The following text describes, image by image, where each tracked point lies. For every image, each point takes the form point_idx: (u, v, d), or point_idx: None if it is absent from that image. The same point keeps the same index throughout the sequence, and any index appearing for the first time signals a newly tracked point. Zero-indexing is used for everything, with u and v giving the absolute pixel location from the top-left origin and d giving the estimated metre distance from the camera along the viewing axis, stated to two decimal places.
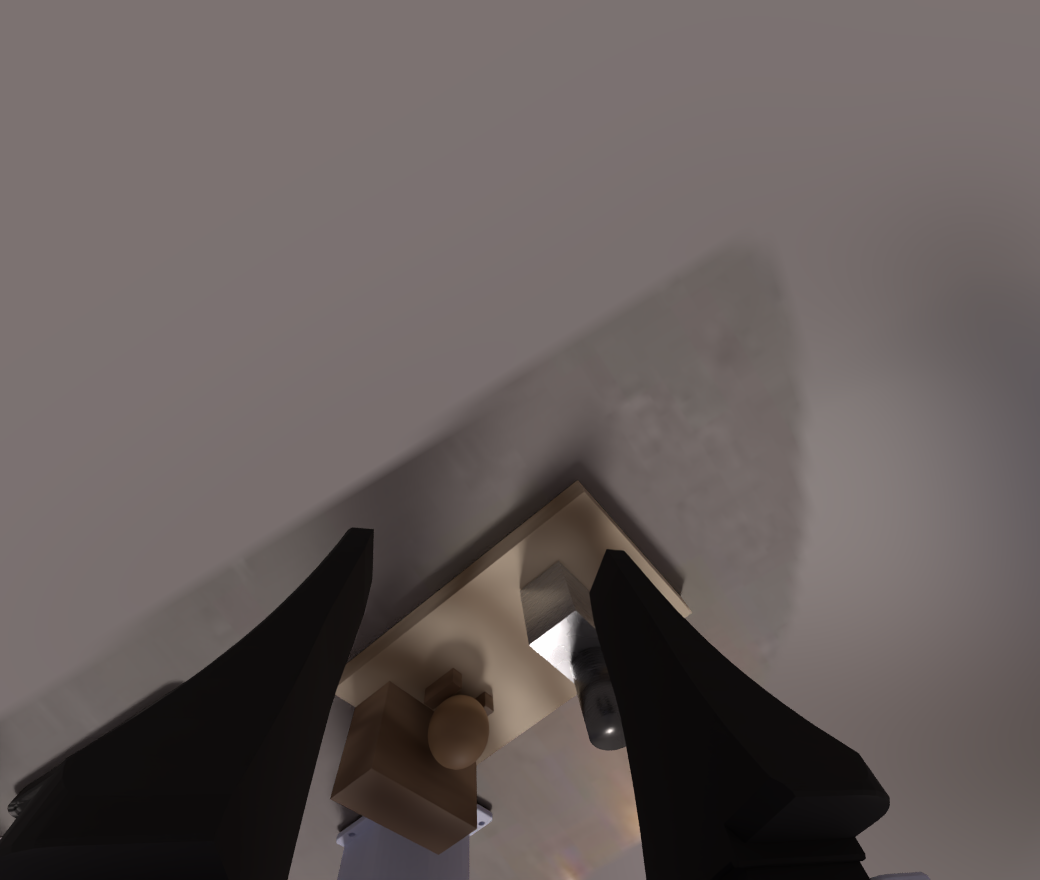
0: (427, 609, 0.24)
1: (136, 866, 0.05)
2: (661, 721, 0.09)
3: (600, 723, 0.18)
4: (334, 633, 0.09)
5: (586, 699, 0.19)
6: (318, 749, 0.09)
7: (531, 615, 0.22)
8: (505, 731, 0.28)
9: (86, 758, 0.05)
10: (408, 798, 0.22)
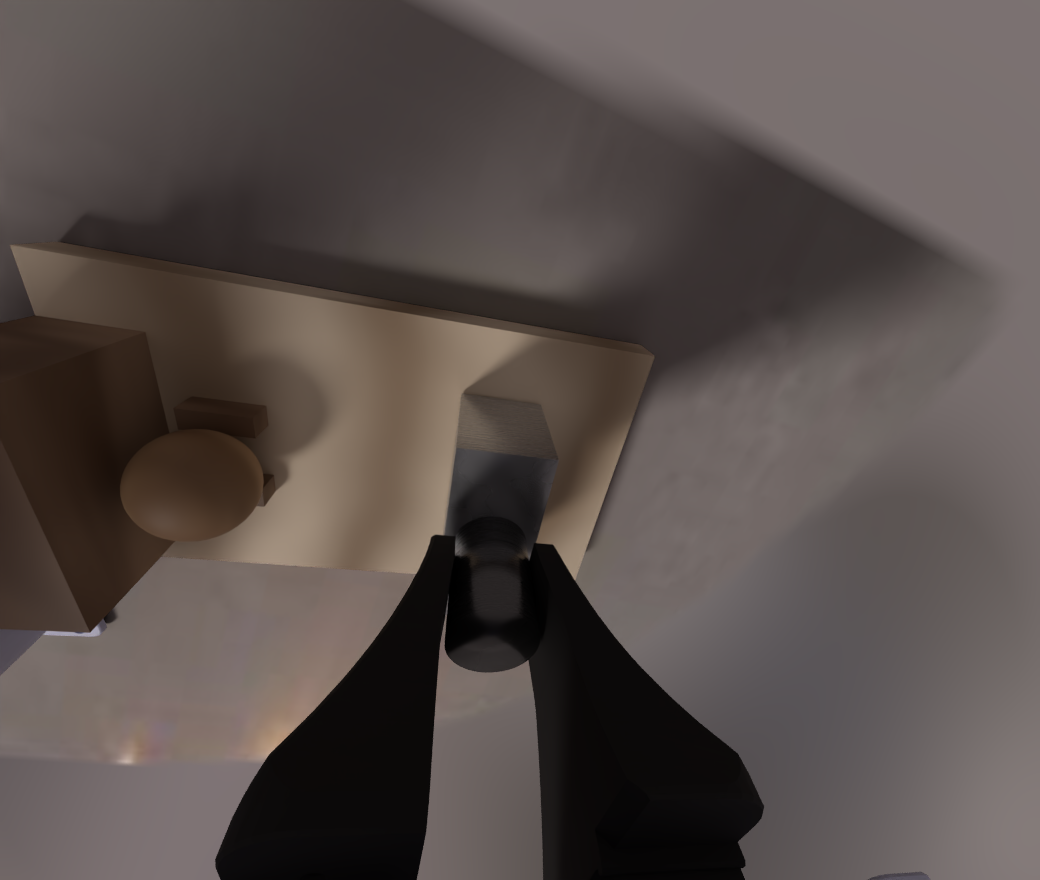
0: (317, 294, 0.13)
1: (349, 856, 0.05)
2: (561, 720, 0.09)
3: (492, 618, 0.10)
4: None
5: (484, 575, 0.11)
6: None
7: (473, 423, 0.13)
8: (244, 545, 0.18)
9: (287, 758, 0.05)
10: (6, 503, 0.10)
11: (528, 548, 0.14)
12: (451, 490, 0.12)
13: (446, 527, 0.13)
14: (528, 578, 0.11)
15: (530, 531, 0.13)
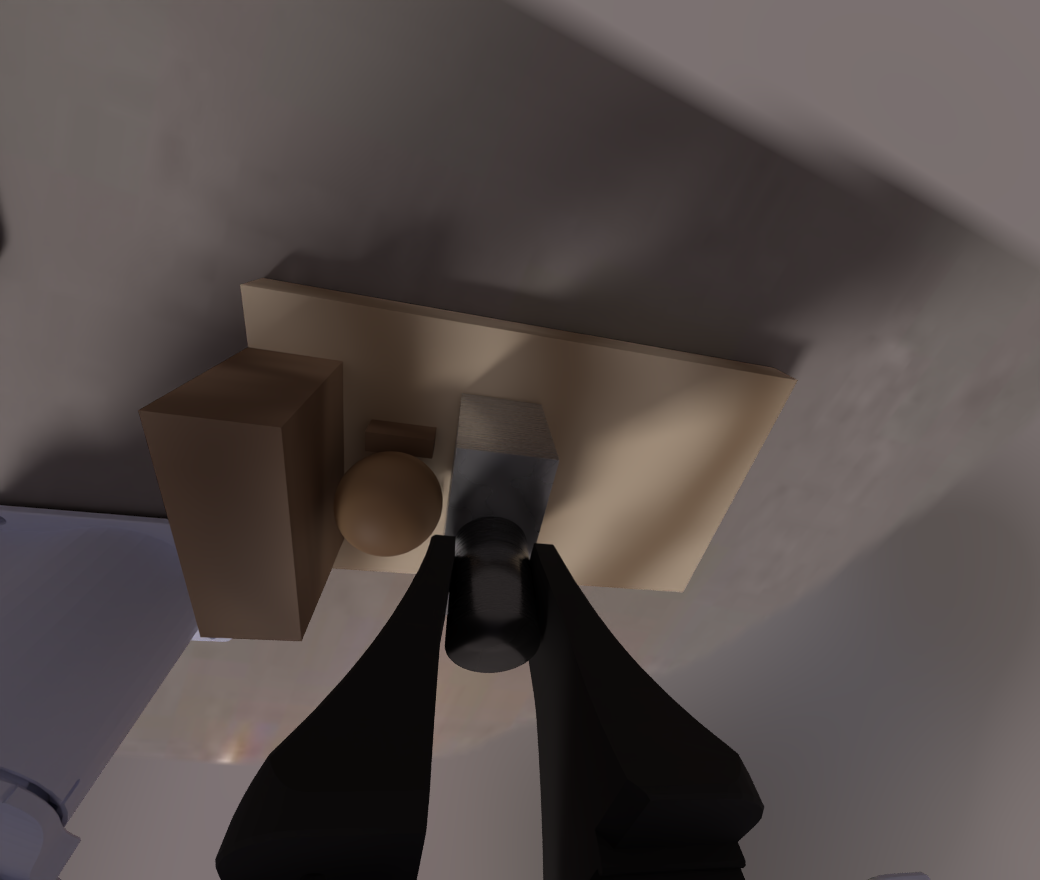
0: (498, 325, 0.14)
1: (349, 856, 0.05)
2: (561, 720, 0.09)
3: (492, 619, 0.10)
4: None
5: (484, 575, 0.11)
6: None
7: (474, 423, 0.13)
8: None
9: (287, 758, 0.05)
10: (270, 525, 0.11)
11: (528, 548, 0.13)
12: (451, 490, 0.12)
13: (446, 527, 0.13)
14: (528, 578, 0.11)
15: (530, 531, 0.13)
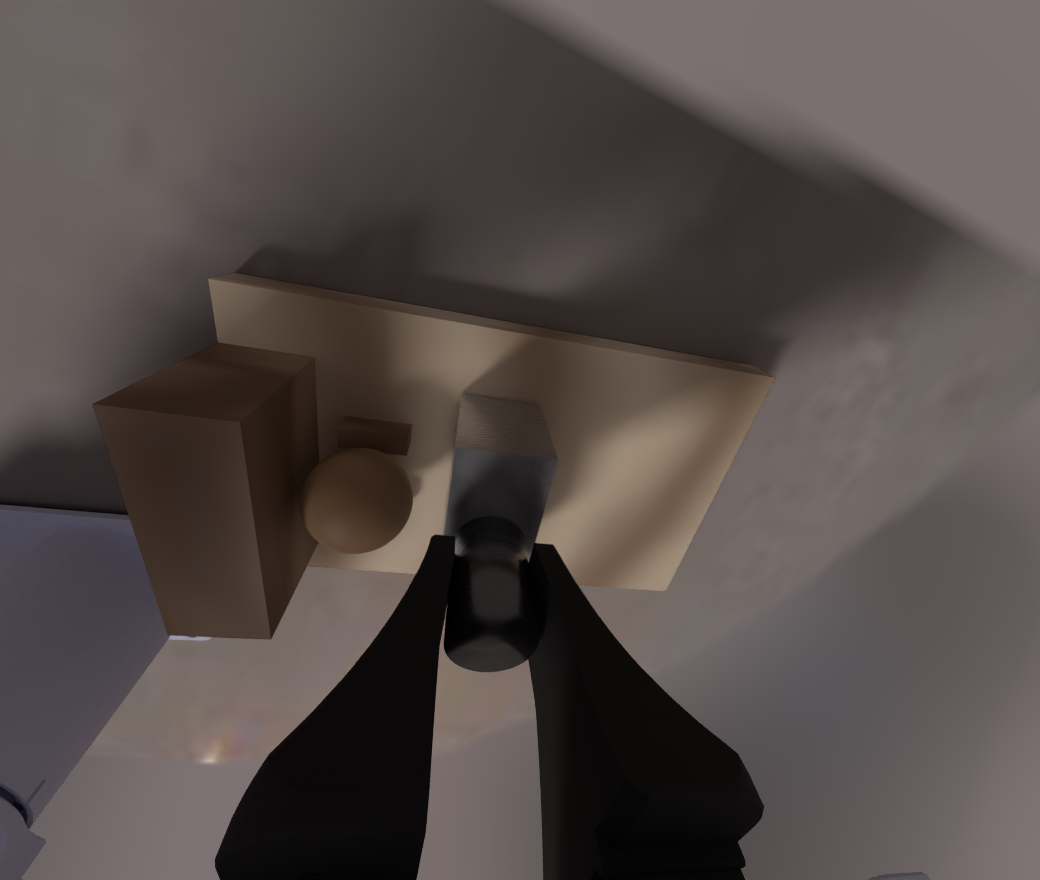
0: (472, 321, 0.14)
1: (348, 856, 0.05)
2: (561, 720, 0.09)
3: (491, 618, 0.10)
4: None
5: (483, 575, 0.11)
6: None
7: (473, 423, 0.13)
8: (367, 554, 0.18)
9: (286, 758, 0.05)
10: (233, 521, 0.11)
11: (527, 548, 0.14)
12: (450, 490, 0.12)
13: (445, 527, 0.13)
14: (527, 578, 0.11)
15: (529, 531, 0.13)
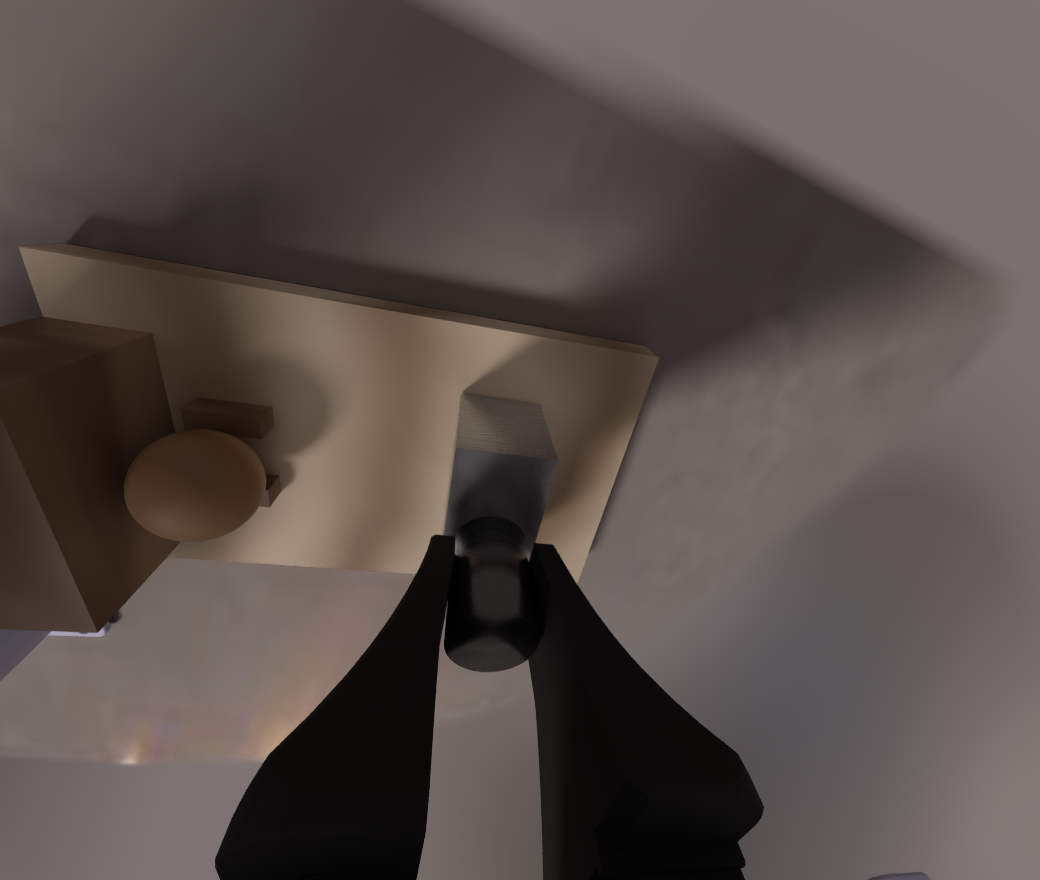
0: (324, 295, 0.13)
1: (348, 856, 0.05)
2: (561, 720, 0.09)
3: (491, 618, 0.10)
4: None
5: (483, 574, 0.11)
6: None
7: (473, 423, 0.13)
8: (249, 545, 0.18)
9: (286, 758, 0.05)
10: (17, 504, 0.10)
11: (527, 548, 0.14)
12: (450, 490, 0.12)
13: (445, 527, 0.13)
14: (527, 578, 0.11)
15: (529, 531, 0.13)
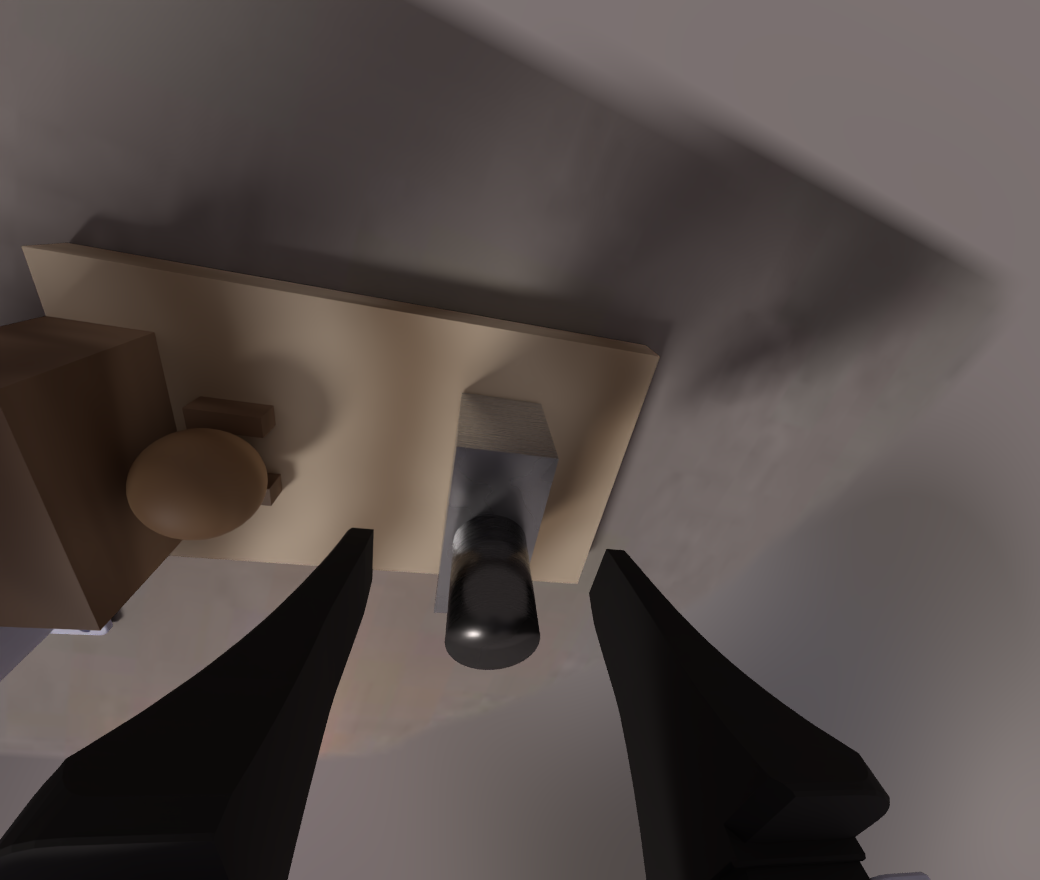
0: (325, 295, 0.14)
1: (136, 866, 0.05)
2: (661, 721, 0.09)
3: (492, 616, 0.10)
4: (334, 633, 0.09)
5: (484, 573, 0.11)
6: (318, 749, 0.09)
7: (474, 422, 0.13)
8: (250, 544, 0.18)
9: (86, 759, 0.05)
10: (20, 502, 0.10)
11: (528, 547, 0.14)
12: (451, 489, 0.12)
13: (446, 525, 0.13)
14: (528, 576, 0.11)
15: (530, 530, 0.13)
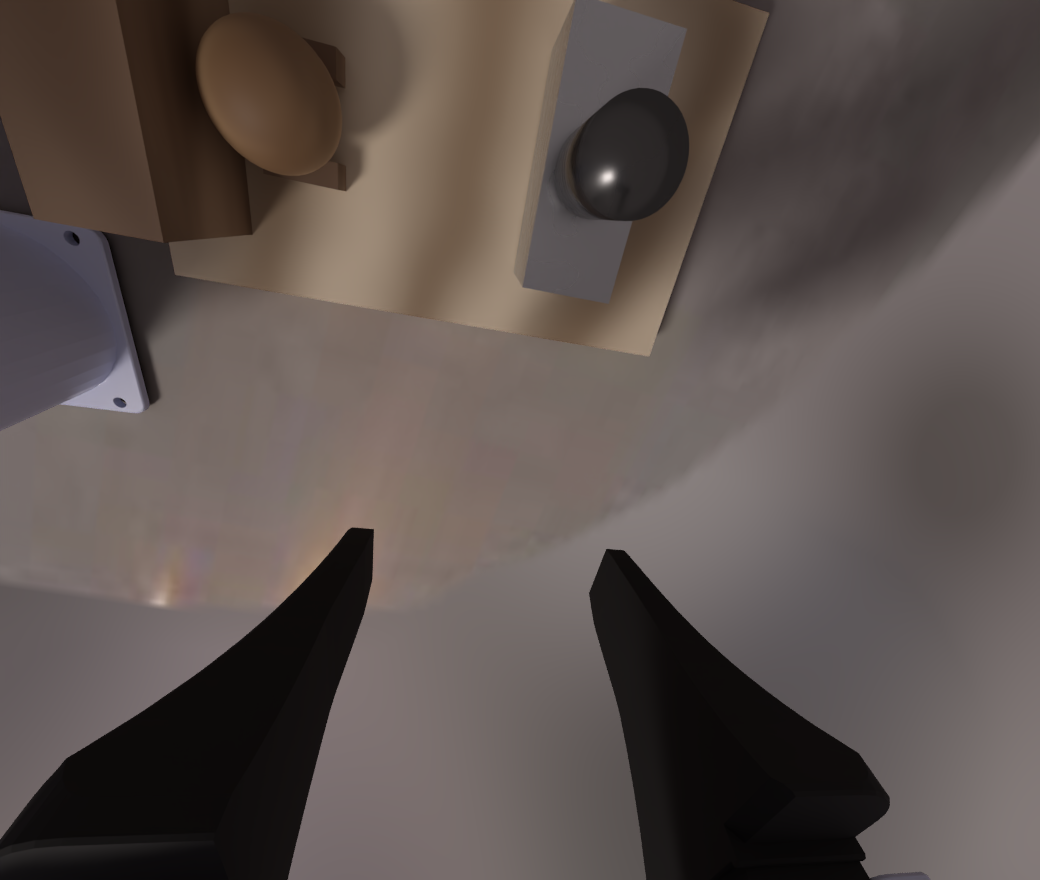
0: None
1: (136, 866, 0.05)
2: (661, 721, 0.09)
3: (642, 103, 0.08)
4: (334, 633, 0.09)
5: None
6: (318, 749, 0.09)
7: None
8: (306, 271, 0.16)
9: (86, 759, 0.05)
10: None
11: None
12: (563, 70, 0.11)
13: (551, 136, 0.11)
14: None
15: None
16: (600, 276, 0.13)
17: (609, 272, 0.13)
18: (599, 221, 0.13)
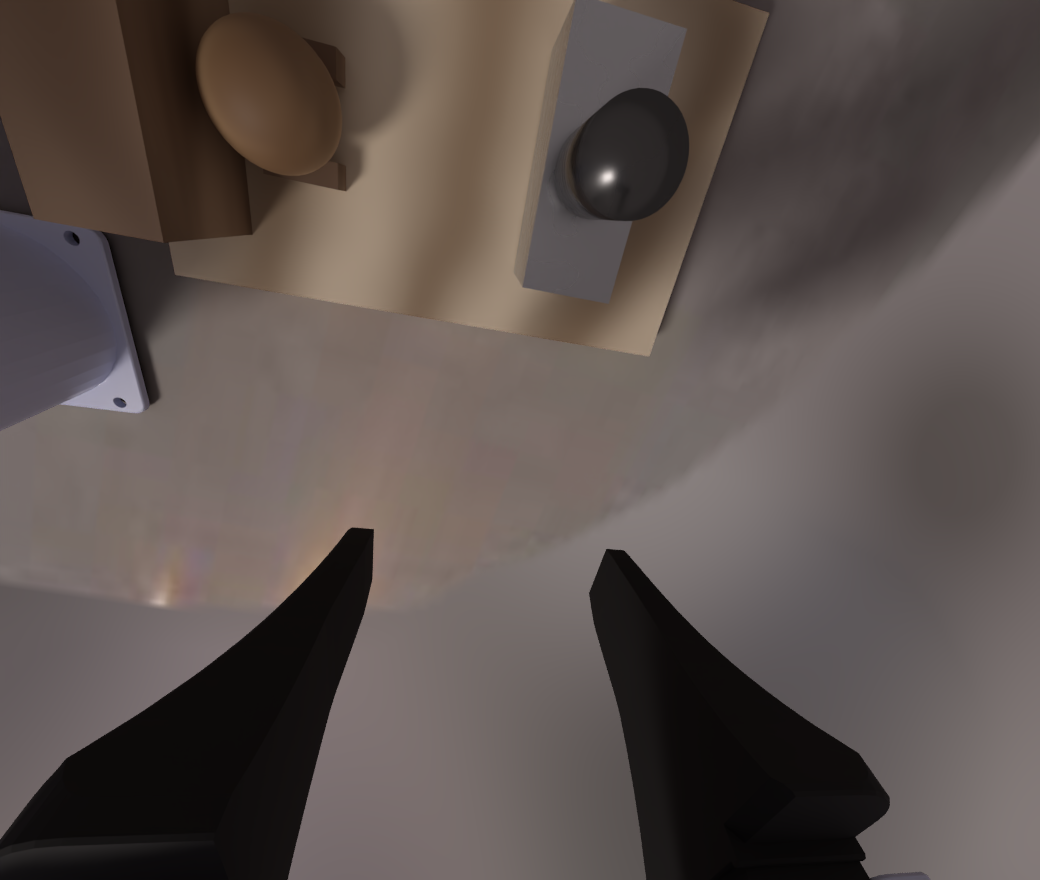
0: None
1: (136, 866, 0.05)
2: (661, 721, 0.09)
3: (642, 103, 0.08)
4: (334, 633, 0.09)
5: None
6: (318, 749, 0.09)
7: None
8: (306, 271, 0.16)
9: (86, 759, 0.05)
10: None
11: None
12: (563, 70, 0.11)
13: (551, 136, 0.11)
14: None
15: None
16: (600, 276, 0.13)
17: (609, 272, 0.13)
18: (599, 221, 0.13)
